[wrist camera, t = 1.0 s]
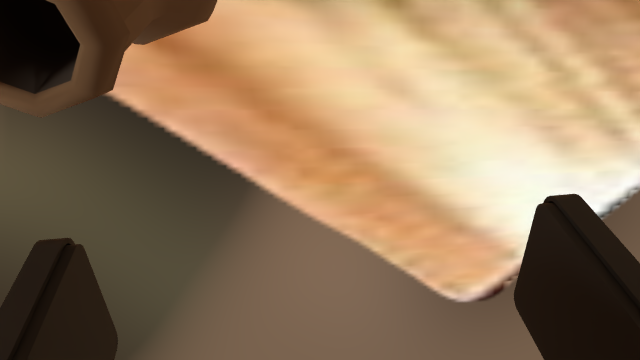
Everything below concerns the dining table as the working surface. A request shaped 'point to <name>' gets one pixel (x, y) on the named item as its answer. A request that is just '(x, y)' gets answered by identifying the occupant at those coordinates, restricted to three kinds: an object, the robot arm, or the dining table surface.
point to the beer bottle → (78, 45)
